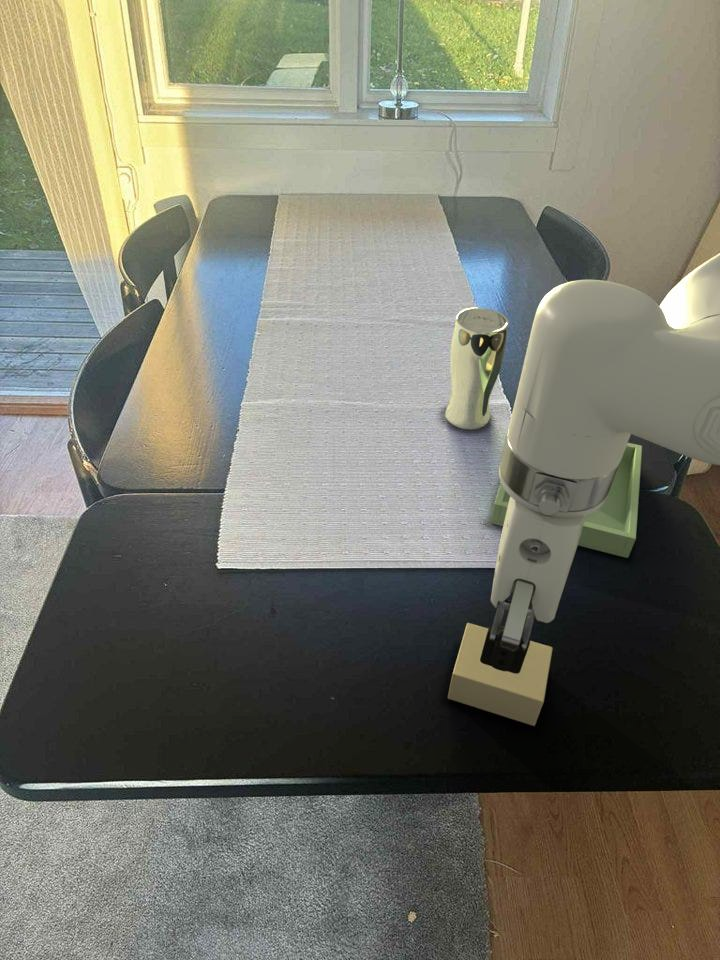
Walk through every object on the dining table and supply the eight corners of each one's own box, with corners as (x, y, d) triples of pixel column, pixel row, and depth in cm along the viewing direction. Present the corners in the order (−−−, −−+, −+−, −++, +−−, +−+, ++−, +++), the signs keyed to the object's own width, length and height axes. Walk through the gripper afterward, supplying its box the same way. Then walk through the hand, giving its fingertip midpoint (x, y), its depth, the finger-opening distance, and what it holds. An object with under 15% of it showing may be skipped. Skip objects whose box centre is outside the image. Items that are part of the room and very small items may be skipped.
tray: (635, 464, 91) (642, 445, 89) (627, 558, 78) (636, 539, 76) (515, 437, 94) (519, 418, 92) (490, 523, 82) (494, 503, 80)
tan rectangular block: (544, 672, 67) (552, 647, 64) (534, 726, 62) (543, 702, 60) (462, 647, 68) (467, 622, 66) (447, 698, 64) (452, 673, 62)
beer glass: (502, 417, 98) (521, 320, 88) (472, 438, 94) (488, 339, 84) (462, 396, 101) (476, 301, 91) (431, 416, 97) (443, 319, 88)
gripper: (603, 569, 41) (539, 722, 52) (621, 408, 53) (566, 560, 64) (477, 534, 42) (442, 690, 54) (523, 387, 55) (487, 538, 66)
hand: (510, 619), depth 59 cm, fingers open, 9 cm apart
